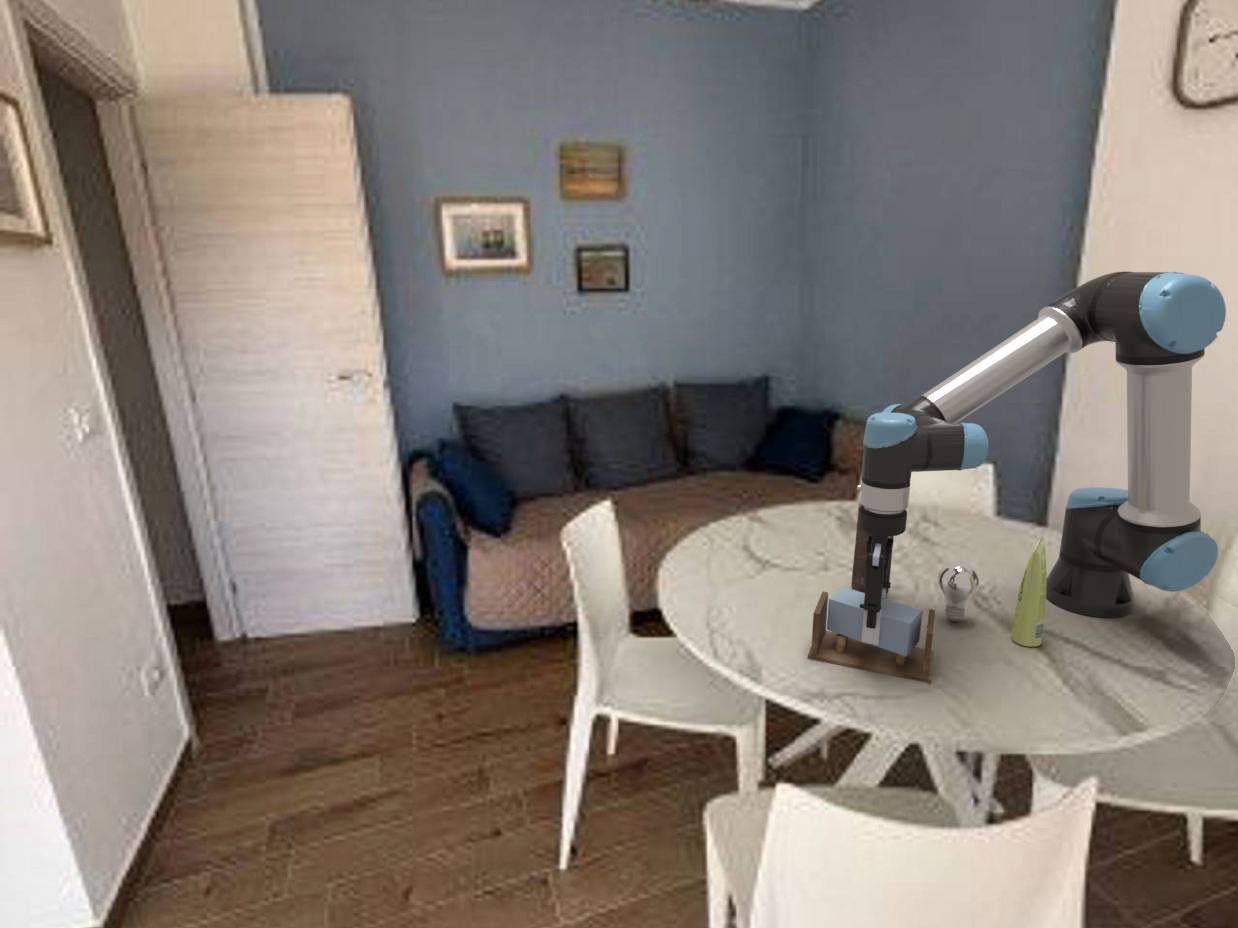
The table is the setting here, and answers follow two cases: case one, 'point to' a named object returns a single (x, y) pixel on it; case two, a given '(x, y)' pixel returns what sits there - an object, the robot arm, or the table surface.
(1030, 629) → the tube
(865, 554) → the brown rusty cylinder
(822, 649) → the peg stand
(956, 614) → the light bulb
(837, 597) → the block
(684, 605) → the table surface
